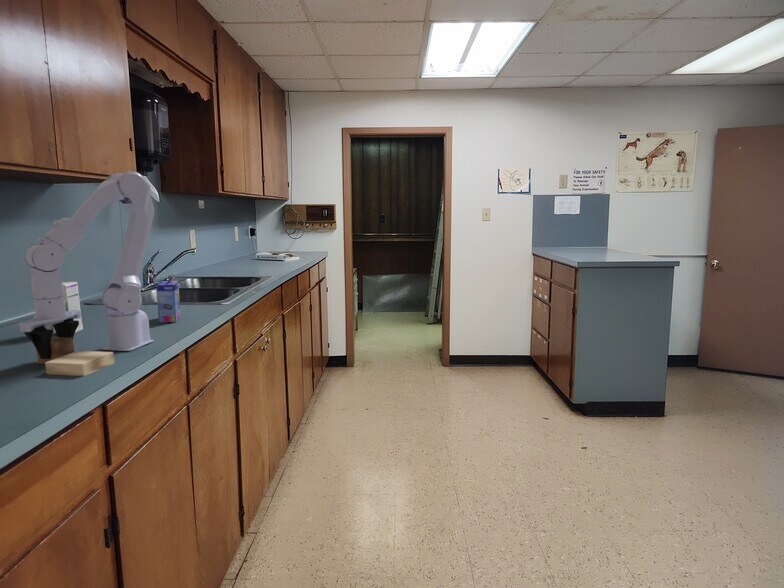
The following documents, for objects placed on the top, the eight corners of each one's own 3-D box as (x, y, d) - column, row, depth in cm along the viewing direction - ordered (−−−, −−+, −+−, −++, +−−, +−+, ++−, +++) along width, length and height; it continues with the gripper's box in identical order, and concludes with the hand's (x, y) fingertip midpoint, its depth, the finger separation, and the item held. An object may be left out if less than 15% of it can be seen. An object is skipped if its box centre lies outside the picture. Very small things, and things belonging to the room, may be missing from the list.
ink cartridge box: (177, 322, 150) (174, 277, 148) (158, 323, 149) (154, 277, 146) (181, 316, 160) (178, 273, 157) (163, 317, 158) (159, 273, 156)
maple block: (79, 363, 111) (78, 350, 110) (114, 364, 110) (113, 352, 109) (46, 375, 102) (45, 362, 102) (84, 377, 101) (82, 364, 100)
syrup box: (83, 329, 141) (78, 281, 139) (71, 334, 136) (65, 283, 133) (64, 329, 141) (58, 281, 139) (50, 334, 135) (44, 284, 133)
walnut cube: (56, 357, 114) (53, 336, 113) (74, 358, 113) (72, 337, 112) (38, 363, 109) (35, 342, 108) (57, 364, 108) (54, 343, 108)
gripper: (59, 291, 116) (66, 345, 119) (3, 302, 102) (12, 363, 104) (85, 292, 115) (91, 346, 118) (32, 303, 101) (40, 365, 103)
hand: (56, 354), depth 111 cm, fingers closed on walnut cube, 5 cm apart
